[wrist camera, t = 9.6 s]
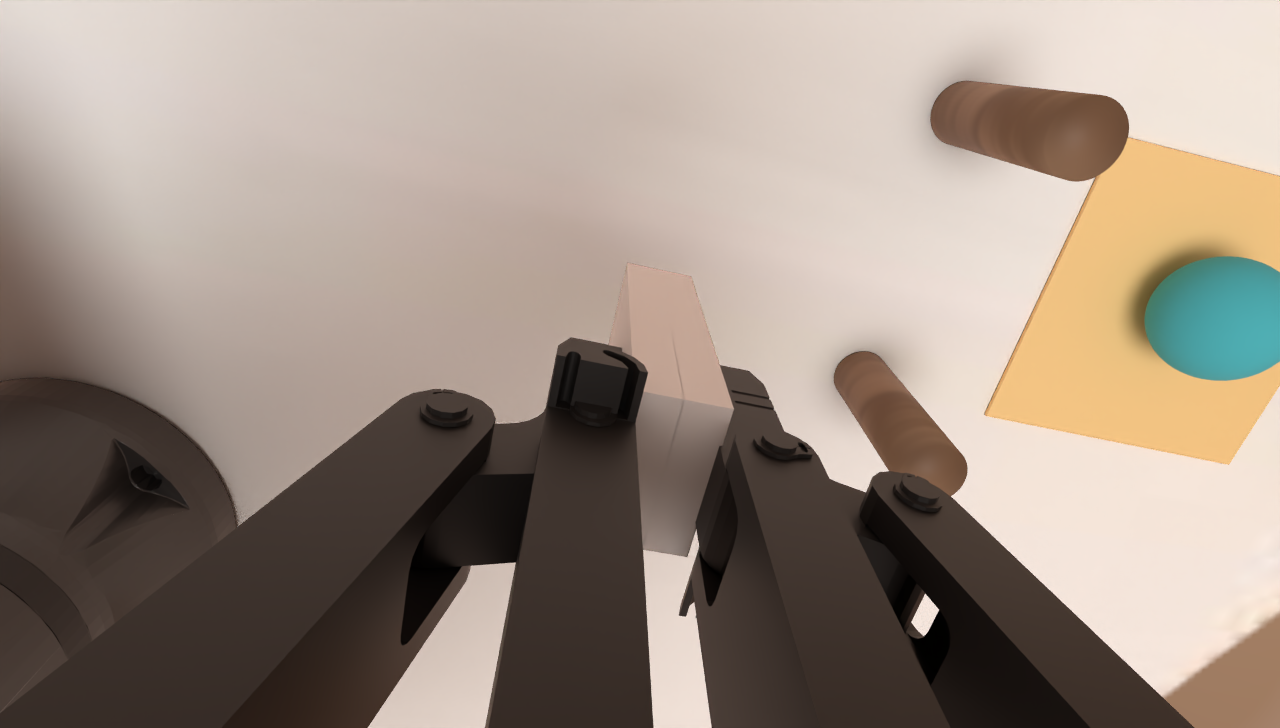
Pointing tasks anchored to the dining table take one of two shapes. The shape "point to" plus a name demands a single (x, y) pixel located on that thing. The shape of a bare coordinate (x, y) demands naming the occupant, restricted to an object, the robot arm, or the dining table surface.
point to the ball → (1217, 318)
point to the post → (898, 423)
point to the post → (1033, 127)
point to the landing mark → (1142, 308)
